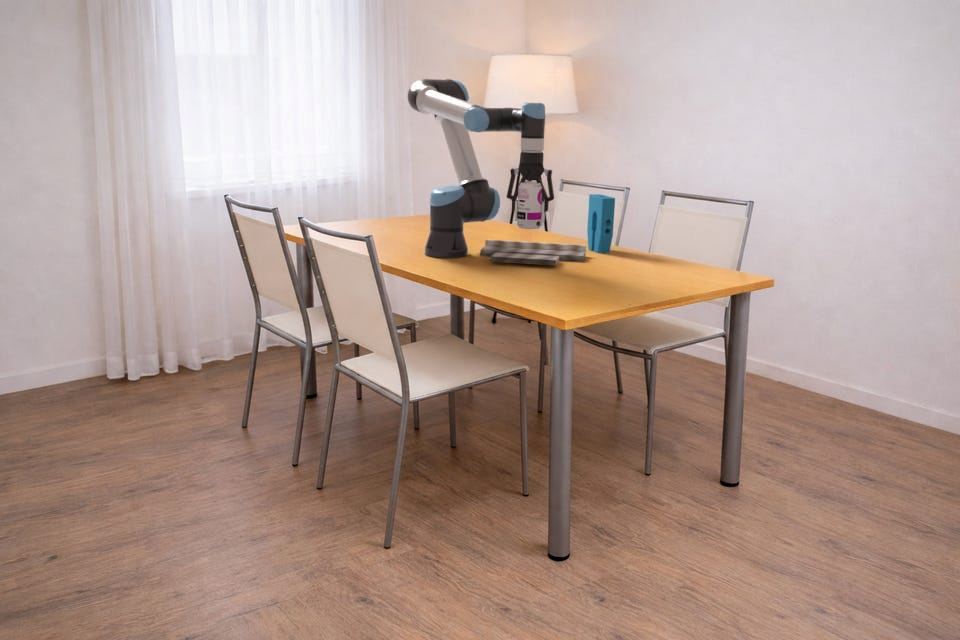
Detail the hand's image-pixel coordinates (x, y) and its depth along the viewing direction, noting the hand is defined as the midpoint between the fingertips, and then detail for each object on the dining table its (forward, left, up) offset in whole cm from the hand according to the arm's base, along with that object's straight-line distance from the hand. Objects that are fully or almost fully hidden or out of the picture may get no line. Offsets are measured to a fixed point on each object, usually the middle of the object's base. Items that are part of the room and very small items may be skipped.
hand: (529, 220), depth 287 cm
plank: (-1, 0, -14) cm, 14 cm away
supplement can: (0, 0, -2) cm, 2 cm away
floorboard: (0, +14, -14) cm, 20 cm away
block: (+22, +32, -15) cm, 42 cm away
